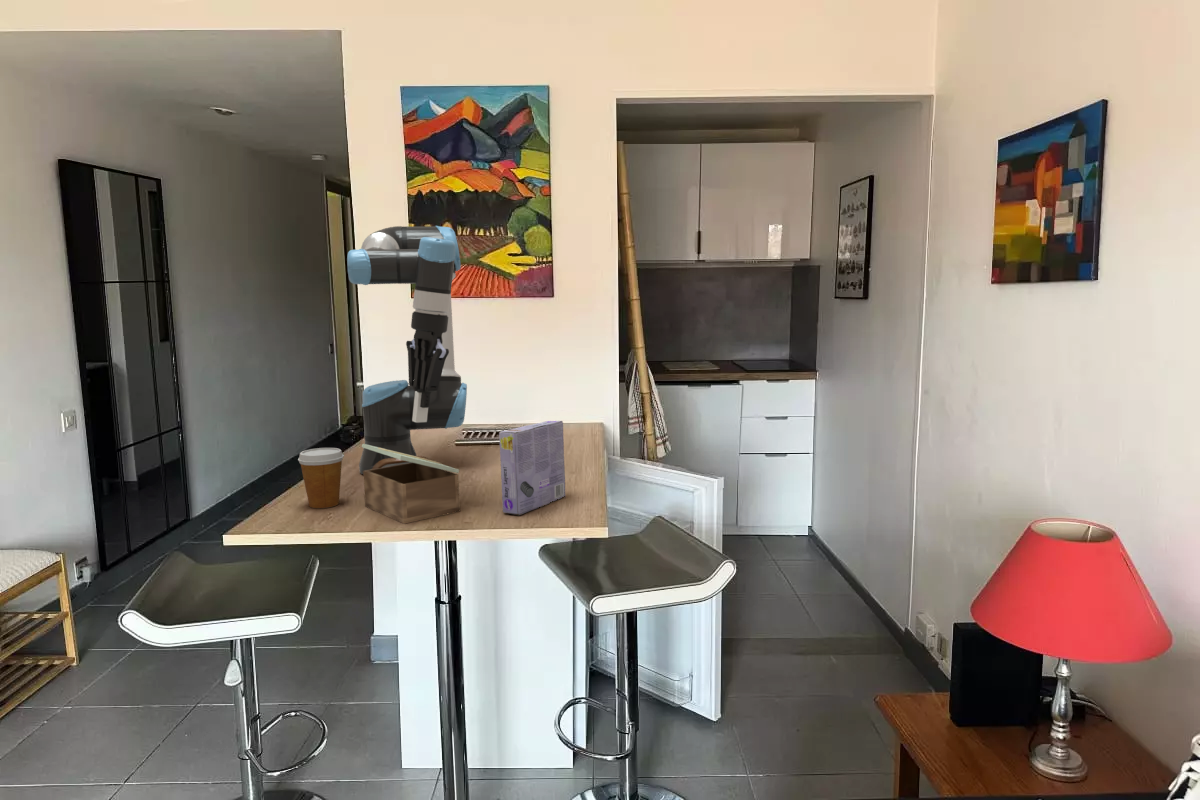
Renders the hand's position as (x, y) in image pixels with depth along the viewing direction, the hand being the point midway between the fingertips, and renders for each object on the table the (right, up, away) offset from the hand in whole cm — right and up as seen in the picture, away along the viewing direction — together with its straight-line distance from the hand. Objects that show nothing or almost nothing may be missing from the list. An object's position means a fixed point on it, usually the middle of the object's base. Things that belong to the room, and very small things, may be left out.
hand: (419, 421), depth 170 cm
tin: (-7, -17, +15) cm, 24 cm away
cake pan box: (+25, -19, +3) cm, 31 cm away
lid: (-2, -8, -1) cm, 8 cm away
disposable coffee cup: (-22, -19, +5) cm, 30 cm away
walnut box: (-2, -19, +1) cm, 19 cm away
